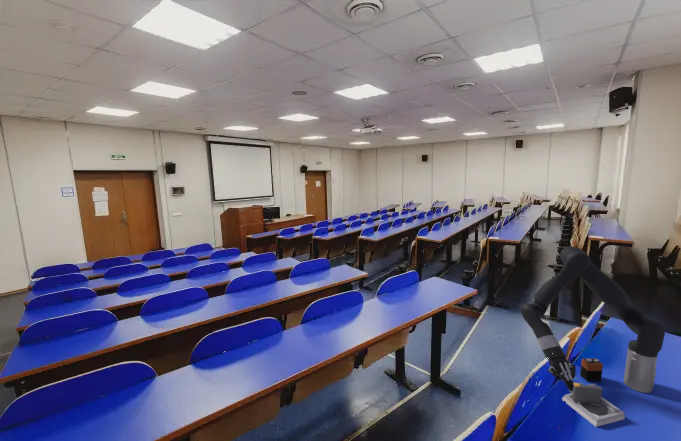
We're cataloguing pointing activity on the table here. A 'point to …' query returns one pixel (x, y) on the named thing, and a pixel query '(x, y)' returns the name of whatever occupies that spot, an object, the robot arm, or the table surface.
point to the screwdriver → (582, 384)
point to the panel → (596, 419)
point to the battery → (591, 369)
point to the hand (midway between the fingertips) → (573, 390)
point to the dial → (589, 398)
